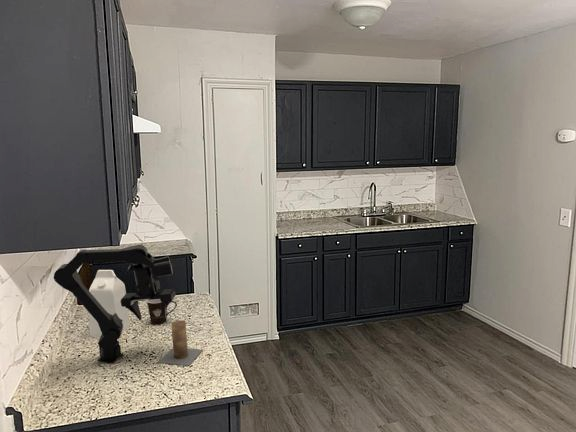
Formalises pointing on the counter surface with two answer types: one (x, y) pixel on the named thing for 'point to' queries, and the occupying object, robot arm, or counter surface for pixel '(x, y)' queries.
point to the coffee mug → (157, 311)
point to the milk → (108, 299)
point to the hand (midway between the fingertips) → (152, 318)
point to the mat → (185, 361)
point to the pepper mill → (179, 339)
